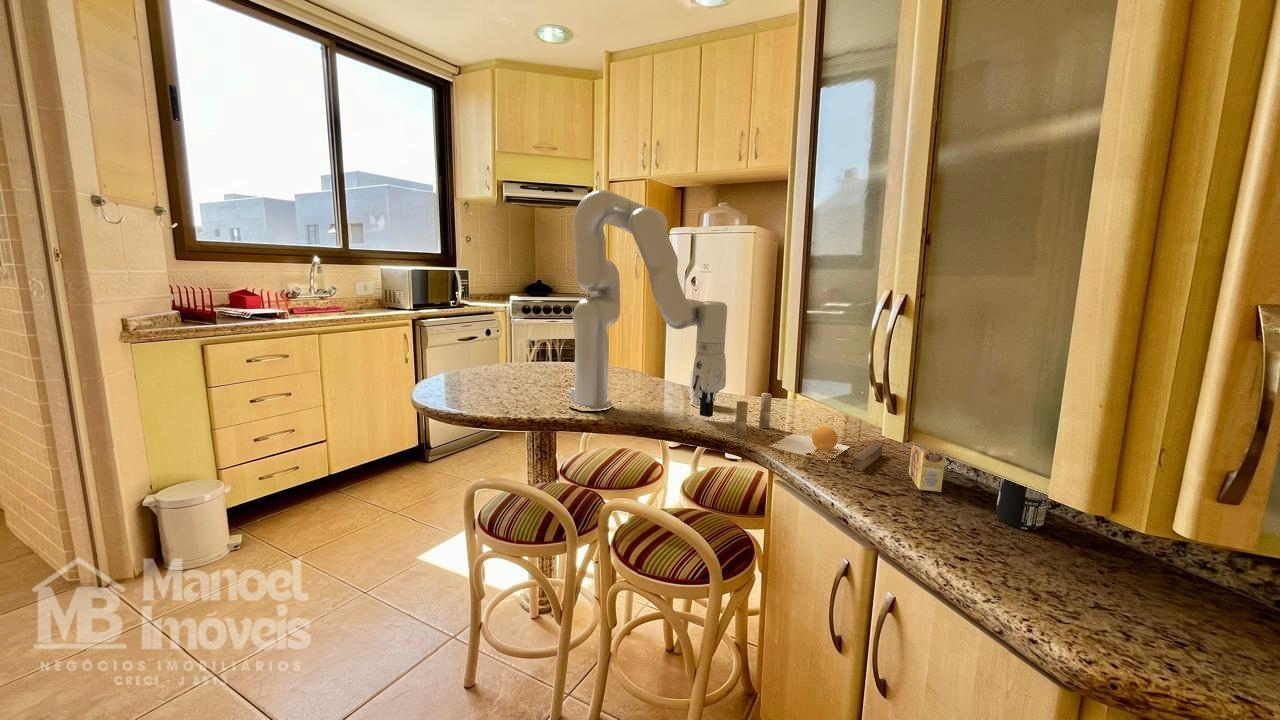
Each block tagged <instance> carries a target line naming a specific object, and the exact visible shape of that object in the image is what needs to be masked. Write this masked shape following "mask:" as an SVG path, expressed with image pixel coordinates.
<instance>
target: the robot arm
mask: <svg viewBox="0 0 1280 720" xmlns="http://www.w3.org/2000/svg"><path fill="white" fill-rule="evenodd" d="M573 218H574V219H573V220H574V221H573V231H574V255H575V256H574V262H575V264H574V265H575V281H576V284H577V285H578V287H579V288H580V289H581V290H583V291H586V292H588V293H589V296H588V297H584V298H582V299H581V300H579V301H578V302H577V303H576V304H575V306H574V309H573V312H572V326H573V331H574V387H571V388H570V389H569V390H568V391H567V392H566V395H567V396H571V400H572V401H574V403H575V404H577V405H580V406H585V407H589V408H590V409H603V408H608V407H611V406H612V405H613V402H612V401H611V400H609V399H608V393H609V392H608V390H609V348H610V347H609V346H610V345H609V335H608V328H610V327H612V326H614V325H615V324H616V323H617V322H618V320H619V319H620V314H621V313H620V312H621V288H620V287H621V284H620V282H621V281H620V273H619V270H618V267H617V266H616V264H615V263H614V262H613V261H612V260H611V259H608V258H607V241H606V235H605V230H604V228H605V227H604V226H605V225H608V226H613V227H616V228H618V229H620V230H622V231H625V232H628V233H630V234H631V235H632V236H633V240H634V241H635V243H636V246H637V248H638V251H639V253H640V255H641V258H642V260H643V263H644V265H645V267H646V269H647V272H648V279H649V283H650V287H651V290H652V293H653V297H654V300H655V303H656V305H657V307H658V310H659V313H660V314H661V316H662V319H663V320H664V322H665V323H666V325H668V327H670V328H672V329H675V330H684V329H686V328H690V327H696V338H695V339H696V343H695V355H694V357H695V358H694V361H693V368H692V371H693V376H692V388H693V390H694V391H695V394H694V396H695V397H699V401H700V408H699V415H700V416H701V417H706V418H711V417H713V416H714V403H715V400H716V395H717V394H718V393H719V392H721V391H722V390H724V389H725V388H726V384H727V383H726V381H727V379H726V378H727V363H726V361H727V360H726V354H725V349H726V347H725V346H726V331H727V321H728V320H727V319H728V318H727V317H728V306H727V304H726V303H725V302H723V301H716V300H715V301H713V300H711V301H710V300H707V301H705V300H704V301H702V300H701V301H700V300H697V299H696V300H695V299H690V298H686V295H685V294H684V291H683V289H682V286H681V282H680V280H679V275H678V267H679V266H678V264H679V260H678V256H677V253H676V251H675V249H674V247H673V244H672V242H671V239H670V238H669V235H668V227H669V225H668V224H669V223H668V219H667V218H666V216H665V215H664V214H663V213H662V212H661V211H660V210H657V209H656V208H653V207H650V206H646V205H643V204H641V203H639V202H636V201H633V200H631V199H629V198H627V197H624V196H622V195H620V194H618V193H616V192H614V191H610V190H607V189H598V190H594V191H591V192H589V193H588V194H587V195H585V196H584V197H583V198H582V199H581V200H580V201H579V203H578V205H577V207H576V208H575V212H574V217H573ZM712 401H713V402H712ZM612 407H613V406H612Z"/></svg>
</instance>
